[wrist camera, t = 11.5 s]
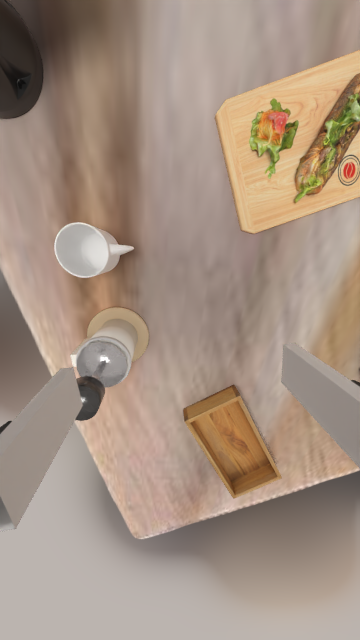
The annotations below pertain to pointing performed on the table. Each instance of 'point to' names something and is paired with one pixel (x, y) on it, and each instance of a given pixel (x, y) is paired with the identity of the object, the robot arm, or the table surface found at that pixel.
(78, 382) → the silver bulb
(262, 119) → the cutting board
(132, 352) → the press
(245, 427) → the tray
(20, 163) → the table surface
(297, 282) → the table surface
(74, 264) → the mug
